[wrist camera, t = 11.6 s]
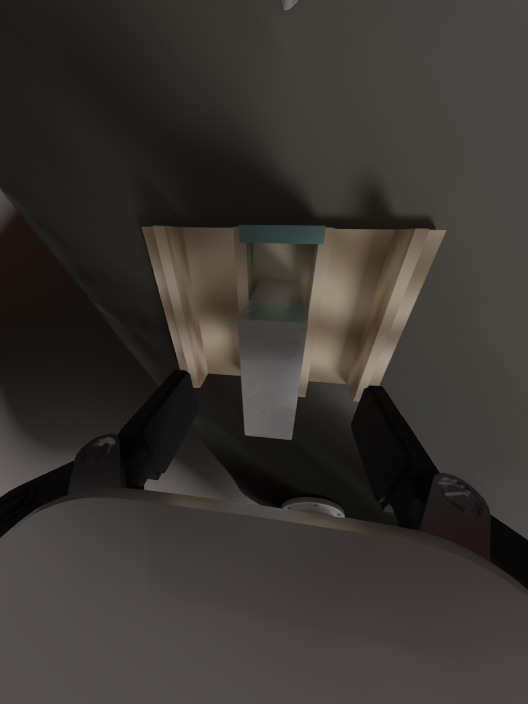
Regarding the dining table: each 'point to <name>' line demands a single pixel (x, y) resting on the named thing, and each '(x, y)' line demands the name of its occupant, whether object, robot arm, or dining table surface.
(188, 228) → the bay rack
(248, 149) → the dining table surface
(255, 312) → the grey rectangular block
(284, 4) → the laptop
